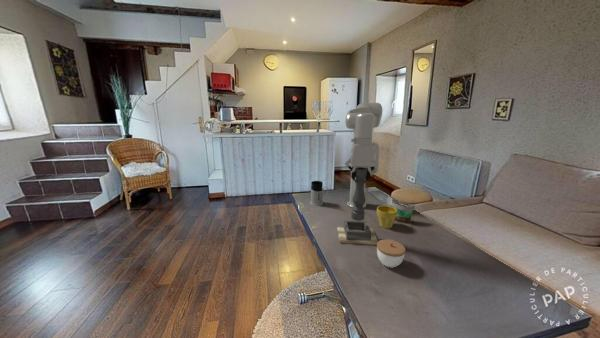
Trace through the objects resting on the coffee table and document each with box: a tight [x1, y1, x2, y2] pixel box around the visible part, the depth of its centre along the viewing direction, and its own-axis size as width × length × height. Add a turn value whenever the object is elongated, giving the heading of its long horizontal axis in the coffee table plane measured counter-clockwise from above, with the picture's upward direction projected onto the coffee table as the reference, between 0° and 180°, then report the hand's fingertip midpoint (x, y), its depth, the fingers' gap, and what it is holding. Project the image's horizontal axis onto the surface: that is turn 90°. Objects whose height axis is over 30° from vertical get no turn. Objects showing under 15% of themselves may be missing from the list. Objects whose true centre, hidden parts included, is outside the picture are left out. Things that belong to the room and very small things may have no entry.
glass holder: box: [309, 180, 329, 207], centre depth 152 cm, size 9×14×15 cm, turn 43°
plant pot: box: [376, 205, 397, 229], centre depth 124 cm, size 10×10×10 cm
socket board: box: [336, 220, 379, 245], centre depth 113 cm, size 13×18×6 cm
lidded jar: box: [376, 239, 406, 269], centre depth 93 cm, size 11×11×9 cm
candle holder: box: [350, 167, 367, 221], centre depth 108 cm, size 6×6×25 cm
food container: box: [391, 201, 416, 224], centre depth 129 cm, size 12×6×10 cm, turn 68°
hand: (360, 179), depth 107 cm, fingers closed on candle holder, 5 cm apart
